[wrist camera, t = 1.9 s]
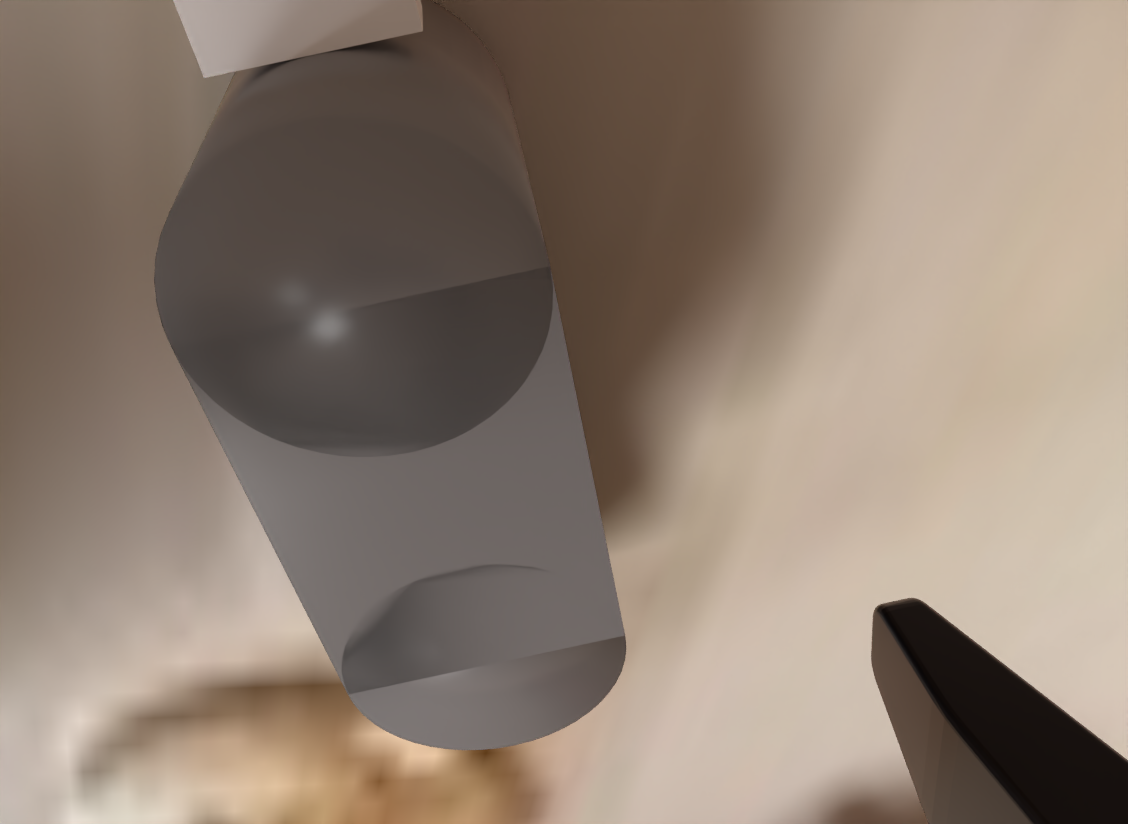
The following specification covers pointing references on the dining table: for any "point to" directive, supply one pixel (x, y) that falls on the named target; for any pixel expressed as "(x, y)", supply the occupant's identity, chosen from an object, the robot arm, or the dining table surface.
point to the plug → (393, 364)
